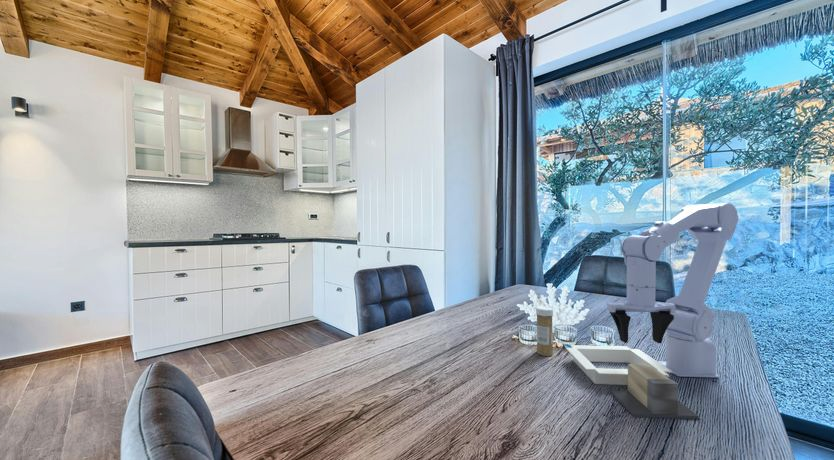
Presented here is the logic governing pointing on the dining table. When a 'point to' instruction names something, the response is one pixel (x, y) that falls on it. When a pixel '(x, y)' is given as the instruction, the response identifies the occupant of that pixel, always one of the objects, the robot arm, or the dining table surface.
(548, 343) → the sprinkles bottle
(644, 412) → the rubber mat
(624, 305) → the robot arm
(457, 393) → the dining table surface
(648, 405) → the birch block
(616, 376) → the white flat frame
